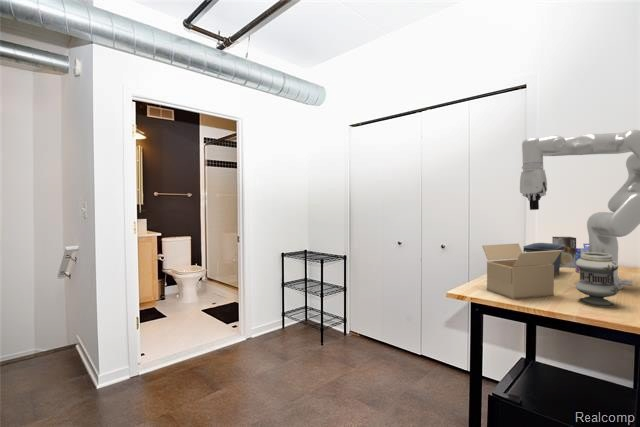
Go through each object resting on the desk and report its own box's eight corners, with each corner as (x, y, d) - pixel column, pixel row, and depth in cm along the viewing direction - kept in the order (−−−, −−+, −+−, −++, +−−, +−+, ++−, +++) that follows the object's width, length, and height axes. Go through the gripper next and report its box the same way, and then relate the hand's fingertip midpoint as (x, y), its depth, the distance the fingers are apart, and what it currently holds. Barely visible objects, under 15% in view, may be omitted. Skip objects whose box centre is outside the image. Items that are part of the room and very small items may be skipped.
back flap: (524, 257, 145) (524, 257, 146) (518, 243, 148) (517, 243, 149) (488, 259, 141) (487, 260, 141) (482, 245, 144) (482, 245, 144)
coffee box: (569, 265, 188) (570, 236, 187) (576, 267, 182) (577, 237, 181) (551, 264, 190) (552, 236, 189) (557, 267, 183) (558, 237, 183)
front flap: (560, 250, 129) (561, 250, 129) (552, 262, 133) (553, 263, 132) (520, 252, 125) (521, 253, 124) (513, 265, 128) (514, 266, 128)
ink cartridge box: (596, 271, 171) (597, 243, 171) (603, 274, 166) (603, 244, 165) (574, 271, 173) (574, 243, 173) (580, 273, 168) (580, 244, 167)
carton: (525, 286, 146) (525, 258, 146) (554, 295, 133) (554, 264, 132) (486, 289, 142) (486, 261, 141) (512, 299, 128) (512, 268, 128)
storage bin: (552, 280, 156) (552, 249, 156) (515, 274, 169) (516, 245, 168) (566, 273, 170) (567, 244, 169) (532, 268, 182) (532, 241, 181)
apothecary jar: (573, 296, 131) (573, 250, 130) (613, 300, 124) (614, 252, 124) (577, 305, 120) (578, 255, 119) (622, 310, 114) (623, 257, 113)
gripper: (512, 169, 153) (513, 210, 153) (541, 165, 138) (542, 210, 139) (525, 168, 155) (526, 208, 155) (555, 165, 140) (557, 209, 141)
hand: (534, 209), depth 147 cm, fingers closed
